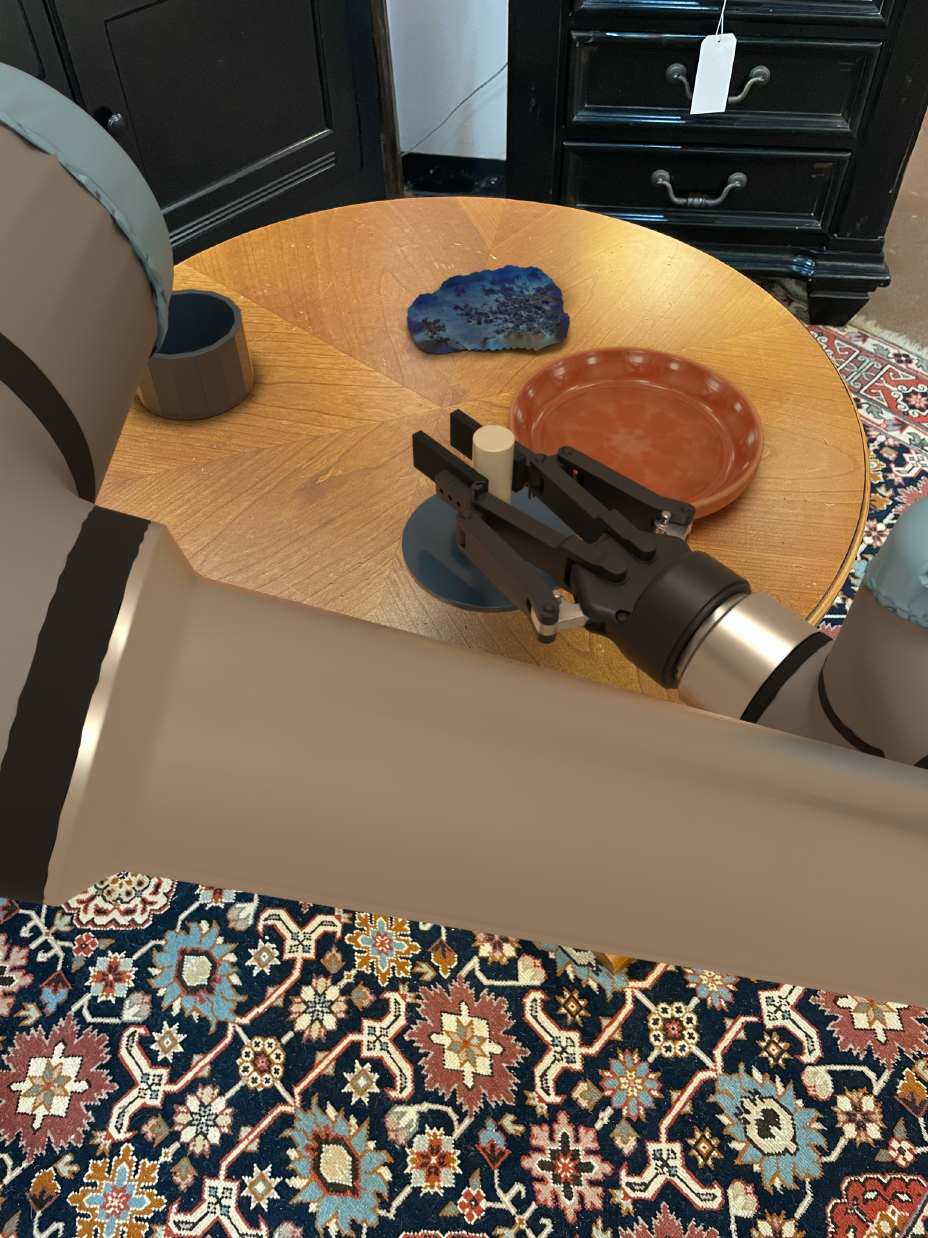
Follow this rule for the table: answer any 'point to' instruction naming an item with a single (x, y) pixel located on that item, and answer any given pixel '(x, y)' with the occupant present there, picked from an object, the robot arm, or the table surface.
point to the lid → (435, 532)
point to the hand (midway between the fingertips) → (436, 437)
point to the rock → (490, 312)
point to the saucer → (645, 421)
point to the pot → (198, 359)
